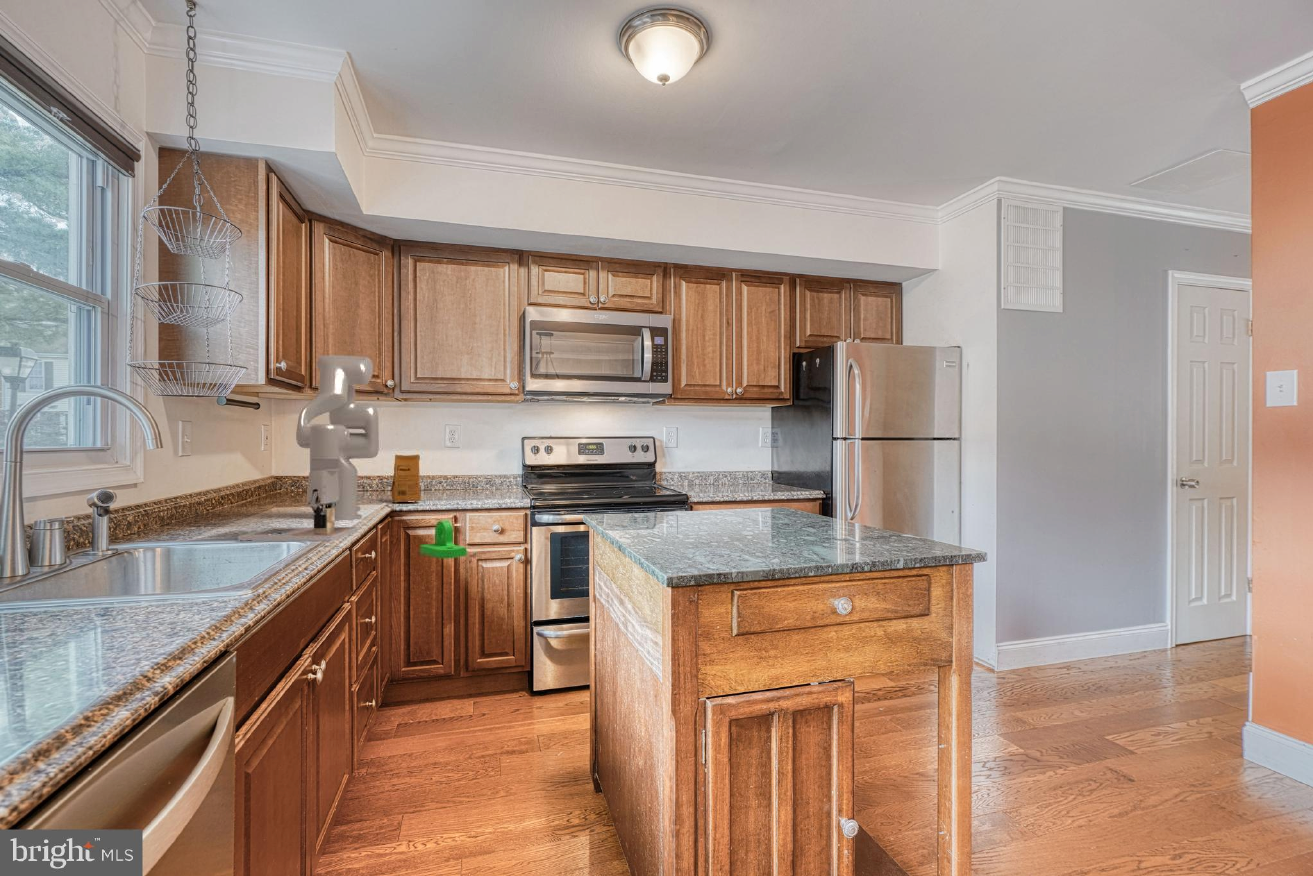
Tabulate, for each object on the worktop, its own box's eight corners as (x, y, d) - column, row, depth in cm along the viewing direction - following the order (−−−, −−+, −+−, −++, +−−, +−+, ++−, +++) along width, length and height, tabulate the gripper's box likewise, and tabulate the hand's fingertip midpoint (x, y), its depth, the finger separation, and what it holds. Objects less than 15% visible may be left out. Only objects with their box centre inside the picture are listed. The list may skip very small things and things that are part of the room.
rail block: (272, 532, 185) (272, 527, 185) (357, 532, 186) (357, 526, 186) (237, 541, 169) (237, 535, 169) (331, 540, 170) (331, 534, 170)
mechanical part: (420, 553, 153) (420, 521, 153) (442, 549, 157) (442, 519, 157) (443, 559, 145) (443, 526, 145) (466, 555, 149) (466, 523, 149)
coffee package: (391, 501, 277) (391, 454, 277) (420, 500, 282) (420, 454, 282) (390, 503, 268) (390, 454, 268) (420, 502, 272) (420, 454, 272)
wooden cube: (321, 531, 180) (321, 508, 180) (334, 531, 180) (334, 508, 180) (313, 533, 176) (313, 509, 176) (327, 533, 176) (327, 509, 176)
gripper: (326, 464, 186) (326, 523, 186) (295, 466, 169) (295, 531, 169) (350, 464, 186) (350, 523, 186) (322, 466, 170) (322, 531, 169)
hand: (324, 526), depth 178 cm, fingers closed on wooden cube, 4 cm apart
